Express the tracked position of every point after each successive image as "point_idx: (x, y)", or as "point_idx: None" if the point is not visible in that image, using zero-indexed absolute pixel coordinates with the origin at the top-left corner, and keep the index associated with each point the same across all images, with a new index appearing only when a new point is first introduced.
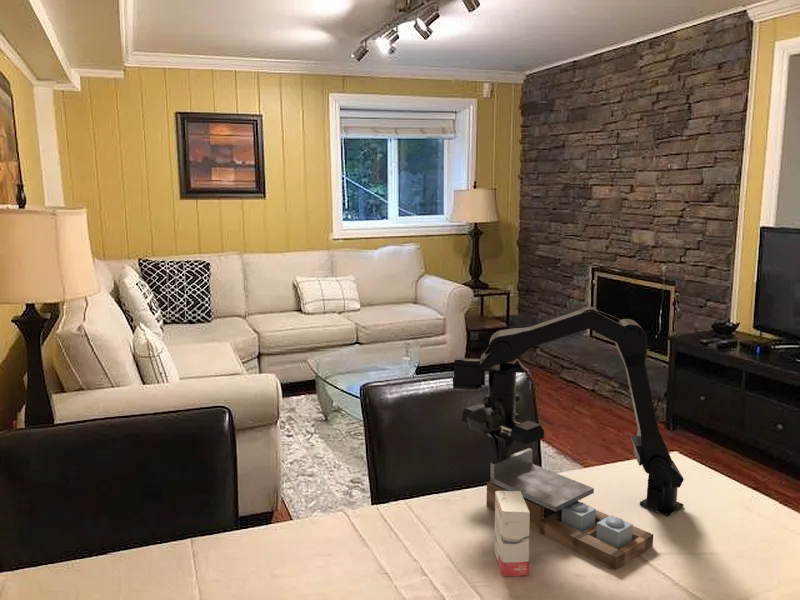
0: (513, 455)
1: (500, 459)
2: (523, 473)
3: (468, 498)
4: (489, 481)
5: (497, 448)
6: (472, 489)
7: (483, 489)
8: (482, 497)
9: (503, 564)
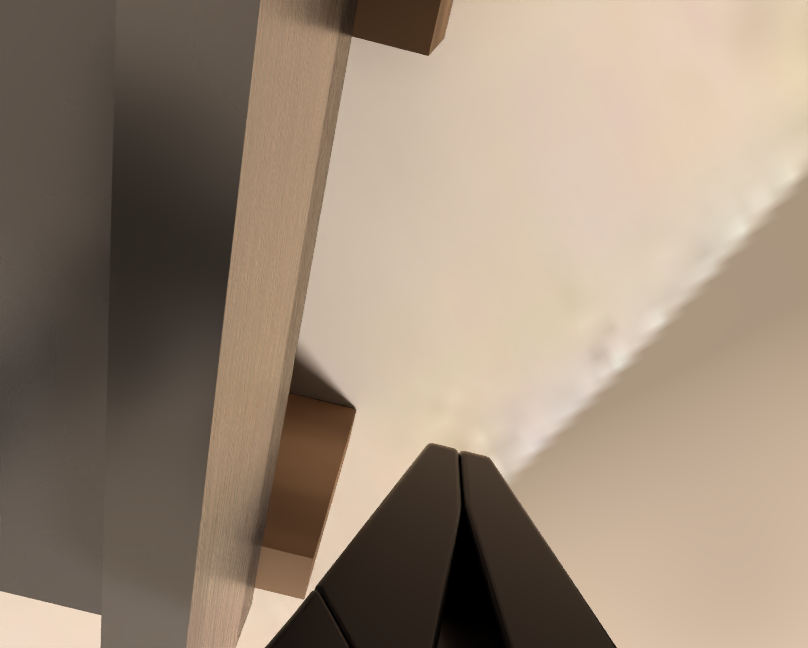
0: (149, 564)
1: (212, 263)
2: (75, 374)
3: (705, 24)
4: (428, 9)
5: (487, 624)
6: (740, 227)
7: (641, 283)
8: (582, 135)
9: None
